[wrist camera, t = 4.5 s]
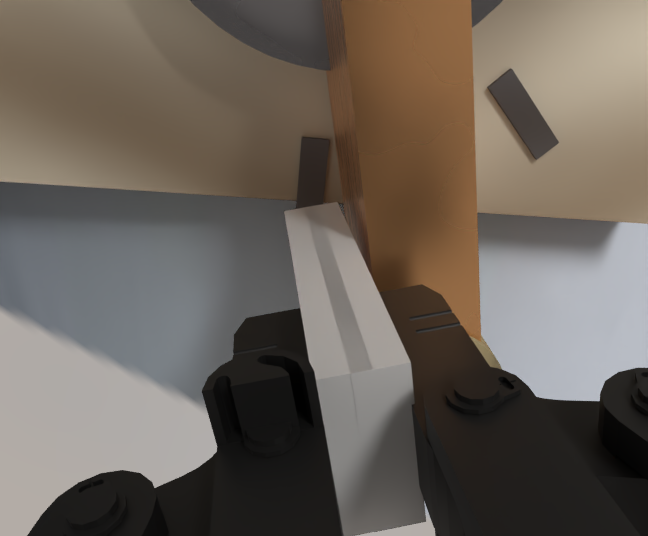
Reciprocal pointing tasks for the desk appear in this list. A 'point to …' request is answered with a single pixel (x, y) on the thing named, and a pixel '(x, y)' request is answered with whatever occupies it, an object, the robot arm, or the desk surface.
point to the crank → (392, 128)
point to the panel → (317, 106)
